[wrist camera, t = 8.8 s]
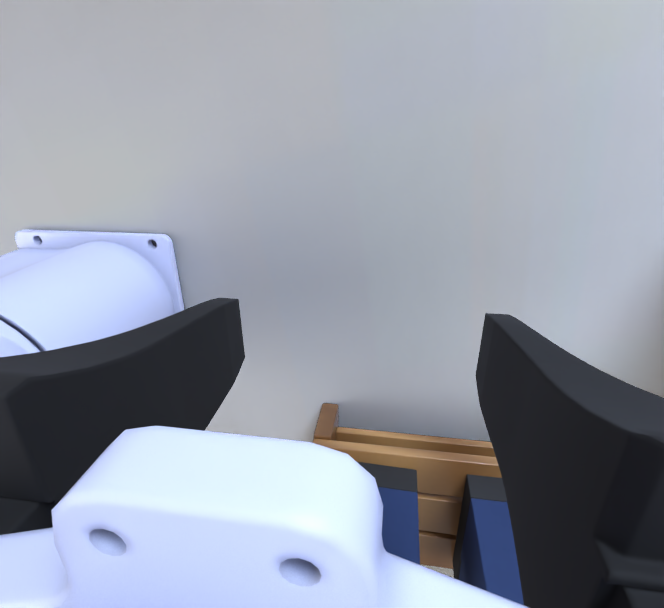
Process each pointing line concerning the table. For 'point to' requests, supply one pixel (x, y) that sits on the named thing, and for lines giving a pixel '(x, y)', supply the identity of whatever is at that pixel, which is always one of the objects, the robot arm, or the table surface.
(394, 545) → the blue block
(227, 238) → the table surface
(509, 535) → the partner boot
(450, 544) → the shoe rack
